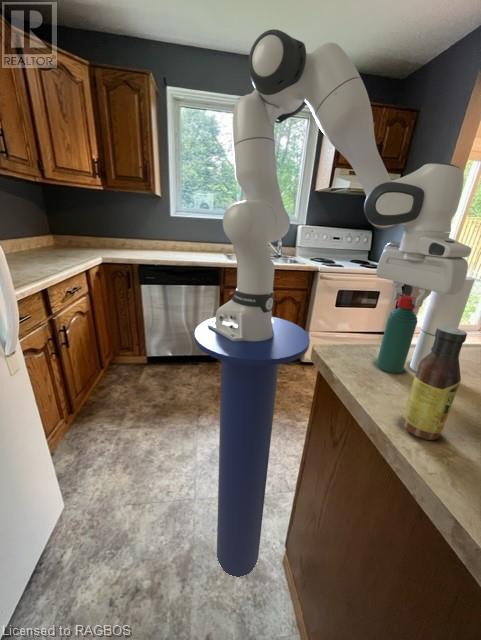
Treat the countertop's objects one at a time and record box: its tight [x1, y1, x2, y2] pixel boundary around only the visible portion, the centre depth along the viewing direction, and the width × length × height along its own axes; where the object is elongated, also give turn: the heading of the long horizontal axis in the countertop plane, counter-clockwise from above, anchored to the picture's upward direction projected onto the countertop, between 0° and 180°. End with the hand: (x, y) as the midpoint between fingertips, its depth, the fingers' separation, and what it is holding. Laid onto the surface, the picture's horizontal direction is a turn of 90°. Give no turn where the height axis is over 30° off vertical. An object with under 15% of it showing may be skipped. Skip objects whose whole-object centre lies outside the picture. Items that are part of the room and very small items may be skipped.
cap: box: [396, 294, 416, 310], centre depth 66 cm, size 4×4×2 cm
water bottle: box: [375, 306, 418, 374], centre depth 69 cm, size 6×6×19 cm
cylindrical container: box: [409, 275, 476, 373], centre depth 68 cm, size 7×7×25 cm
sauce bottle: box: [402, 326, 468, 441], centre depth 47 cm, size 6×6×20 cm
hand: (407, 303), depth 66 cm, fingers closed on cap, 4 cm apart
